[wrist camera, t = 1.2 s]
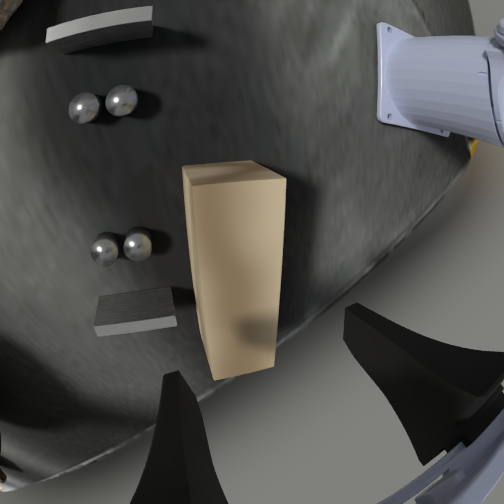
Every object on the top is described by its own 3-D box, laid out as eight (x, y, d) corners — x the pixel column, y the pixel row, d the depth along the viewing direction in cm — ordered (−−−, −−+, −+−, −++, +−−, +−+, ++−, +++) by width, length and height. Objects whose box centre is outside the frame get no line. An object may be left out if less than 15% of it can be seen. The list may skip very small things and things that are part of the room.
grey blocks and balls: (152, 25, 10) (152, 5, 8) (172, 296, 18) (177, 325, 16) (65, 42, 9) (47, 28, 6) (102, 306, 17) (97, 336, 14)
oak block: (250, 160, 16) (286, 178, 12) (250, 319, 22) (273, 366, 17) (181, 165, 15) (192, 185, 11) (199, 329, 20) (214, 380, 16)
